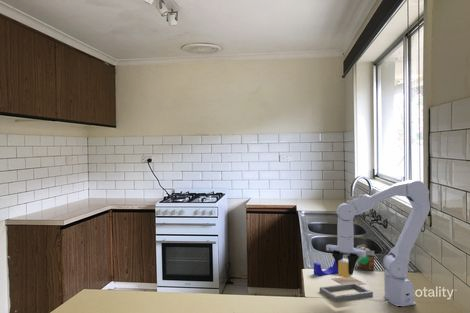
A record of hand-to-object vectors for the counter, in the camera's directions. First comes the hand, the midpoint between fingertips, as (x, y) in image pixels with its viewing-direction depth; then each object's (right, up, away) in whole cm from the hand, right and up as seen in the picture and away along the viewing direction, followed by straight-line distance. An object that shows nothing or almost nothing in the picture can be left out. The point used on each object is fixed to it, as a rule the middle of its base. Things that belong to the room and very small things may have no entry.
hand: (345, 272), depth 125 cm
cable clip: (-1, -10, +24) cm, 26 cm away
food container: (+19, -10, +33) cm, 40 cm away
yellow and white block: (0, -1, 0) cm, 1 cm away
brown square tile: (+5, -9, +13) cm, 17 cm away
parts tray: (0, -9, 0) cm, 9 cm away
